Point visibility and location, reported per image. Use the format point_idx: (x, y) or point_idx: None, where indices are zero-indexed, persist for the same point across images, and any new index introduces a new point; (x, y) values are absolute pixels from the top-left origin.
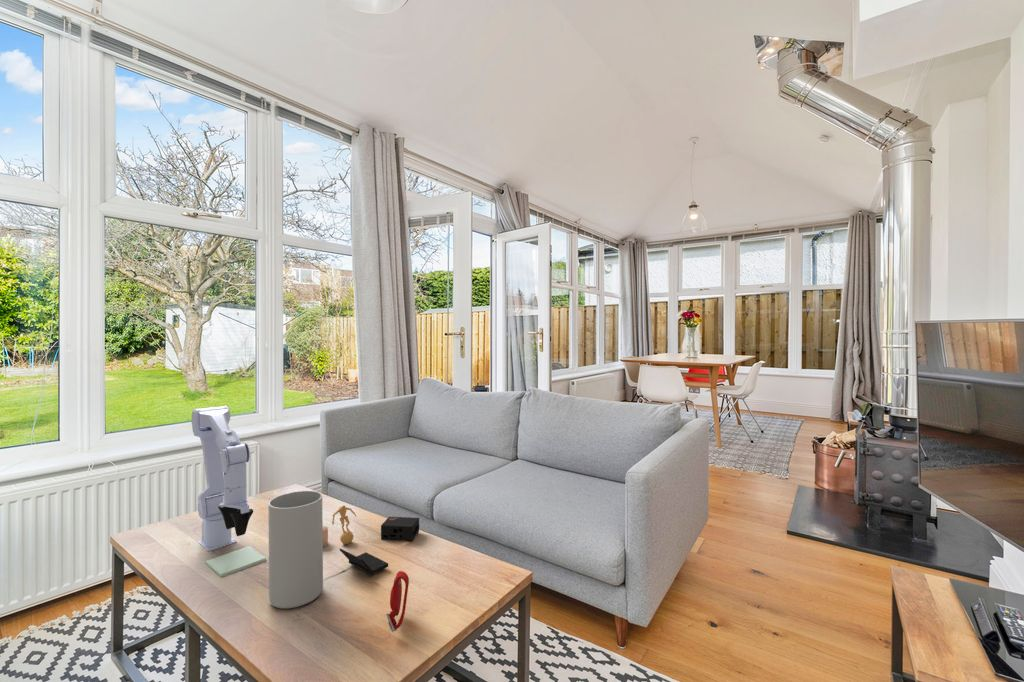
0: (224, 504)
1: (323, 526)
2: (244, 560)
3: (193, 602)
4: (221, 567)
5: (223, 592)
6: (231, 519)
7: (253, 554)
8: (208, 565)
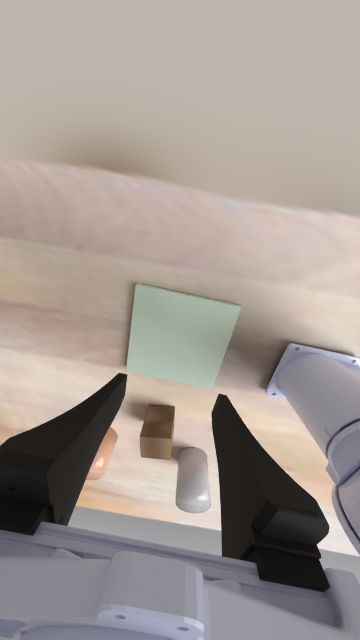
0: (100, 619)
1: (95, 479)
2: (154, 347)
3: (74, 180)
4: (169, 305)
5: (66, 247)
6: (221, 438)
7: (164, 370)
8: (218, 301)
